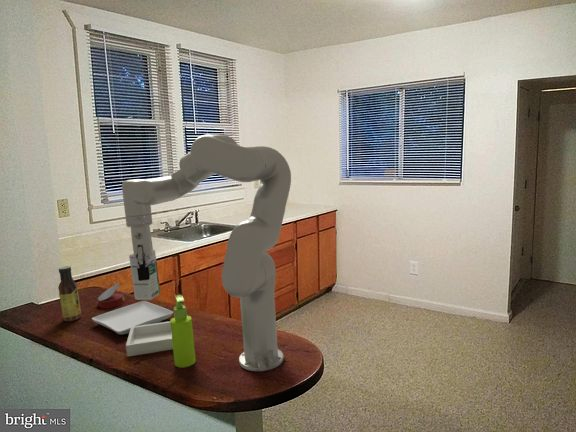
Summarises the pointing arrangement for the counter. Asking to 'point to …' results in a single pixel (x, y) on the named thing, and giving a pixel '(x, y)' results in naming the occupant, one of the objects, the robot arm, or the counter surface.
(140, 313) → the salad plate
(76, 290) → the sauce bottle
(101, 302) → the canned food
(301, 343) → the counter surface
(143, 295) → the syrup box
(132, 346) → the tray
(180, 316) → the soap dispenser
